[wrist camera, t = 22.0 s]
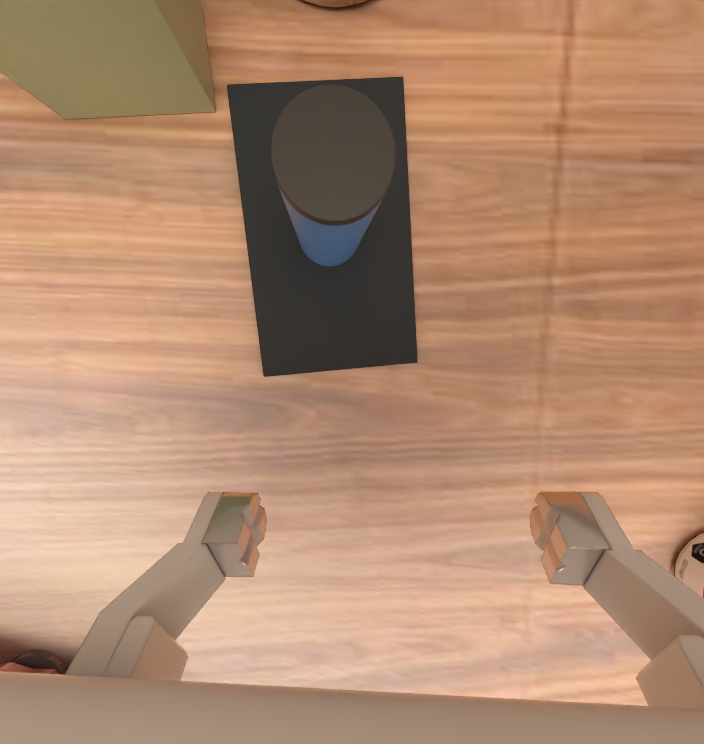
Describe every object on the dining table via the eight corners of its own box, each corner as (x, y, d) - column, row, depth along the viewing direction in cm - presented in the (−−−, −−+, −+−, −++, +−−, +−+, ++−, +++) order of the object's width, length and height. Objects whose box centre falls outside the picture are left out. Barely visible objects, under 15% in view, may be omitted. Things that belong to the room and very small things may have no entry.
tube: (356, 238, 29) (382, 372, 21) (300, 242, 28) (307, 379, 21) (357, 10, 18) (410, 118, 11) (267, 13, 18) (258, 126, 10)
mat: (416, 361, 29) (417, 362, 28) (264, 375, 28) (263, 376, 28) (401, 80, 25) (403, 76, 25) (228, 88, 25) (226, 84, 24)
